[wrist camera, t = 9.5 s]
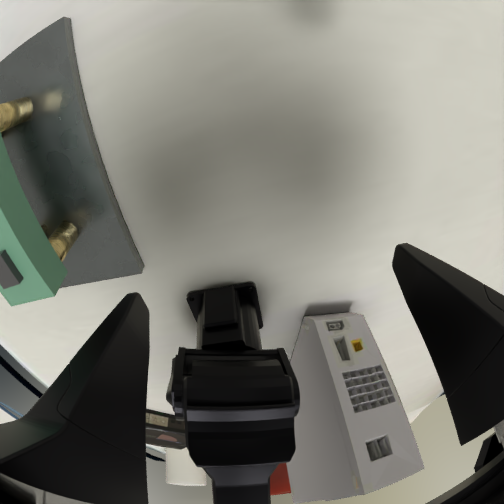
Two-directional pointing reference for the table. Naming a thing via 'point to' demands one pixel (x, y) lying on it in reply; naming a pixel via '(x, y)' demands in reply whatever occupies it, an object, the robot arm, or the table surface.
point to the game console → (346, 414)
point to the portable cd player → (164, 430)
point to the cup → (183, 469)
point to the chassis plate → (62, 159)
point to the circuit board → (23, 244)
